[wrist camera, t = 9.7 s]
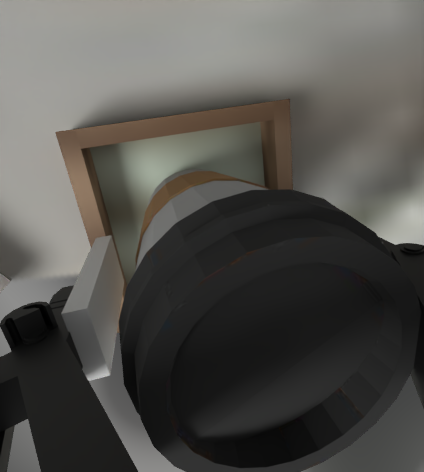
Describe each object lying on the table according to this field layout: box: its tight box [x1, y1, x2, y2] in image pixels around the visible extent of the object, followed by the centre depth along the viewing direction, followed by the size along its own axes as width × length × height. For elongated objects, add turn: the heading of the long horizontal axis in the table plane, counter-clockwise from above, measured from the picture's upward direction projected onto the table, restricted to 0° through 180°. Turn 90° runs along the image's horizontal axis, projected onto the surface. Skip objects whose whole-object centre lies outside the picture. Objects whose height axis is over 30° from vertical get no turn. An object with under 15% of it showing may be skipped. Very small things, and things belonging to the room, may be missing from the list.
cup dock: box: [56, 99, 293, 333], centre depth 20 cm, size 13×13×3 cm
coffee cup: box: [119, 169, 422, 472], centre depth 14 cm, size 8×8×15 cm
